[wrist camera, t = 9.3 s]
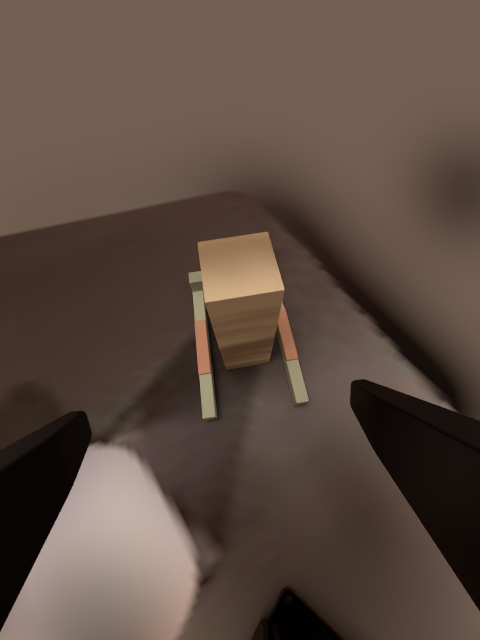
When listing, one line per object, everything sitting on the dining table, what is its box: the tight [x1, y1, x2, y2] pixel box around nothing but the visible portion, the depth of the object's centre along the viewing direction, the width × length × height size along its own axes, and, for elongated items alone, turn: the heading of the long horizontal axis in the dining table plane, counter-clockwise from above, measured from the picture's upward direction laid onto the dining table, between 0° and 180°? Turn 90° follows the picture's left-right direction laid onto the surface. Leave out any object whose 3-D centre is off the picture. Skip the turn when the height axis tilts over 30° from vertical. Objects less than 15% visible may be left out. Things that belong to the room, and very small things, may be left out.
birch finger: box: [198, 232, 285, 370], centre depth 19 cm, size 4×4×12 cm
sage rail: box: [189, 271, 309, 420], centre depth 23 cm, size 13×8×3 cm, turn 9°
